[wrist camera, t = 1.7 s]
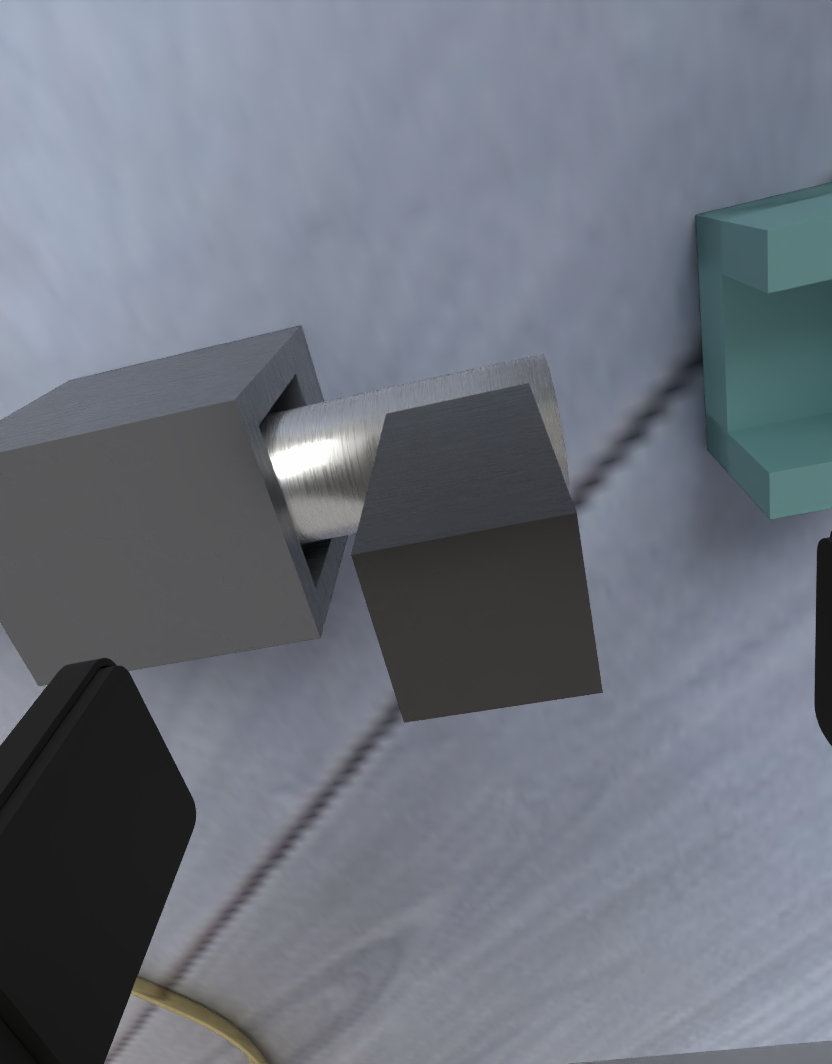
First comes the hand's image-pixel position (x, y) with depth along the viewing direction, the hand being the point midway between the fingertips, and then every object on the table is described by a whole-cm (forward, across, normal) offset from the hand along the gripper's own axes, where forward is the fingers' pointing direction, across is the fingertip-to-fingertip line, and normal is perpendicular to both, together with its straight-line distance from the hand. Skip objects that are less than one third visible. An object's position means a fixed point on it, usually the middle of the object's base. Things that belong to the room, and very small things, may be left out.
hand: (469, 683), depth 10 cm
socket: (+12, -9, -1) cm, 15 cm away
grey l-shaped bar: (+10, +7, -1) cm, 12 cm away
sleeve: (+12, +7, -1) cm, 14 cm away
